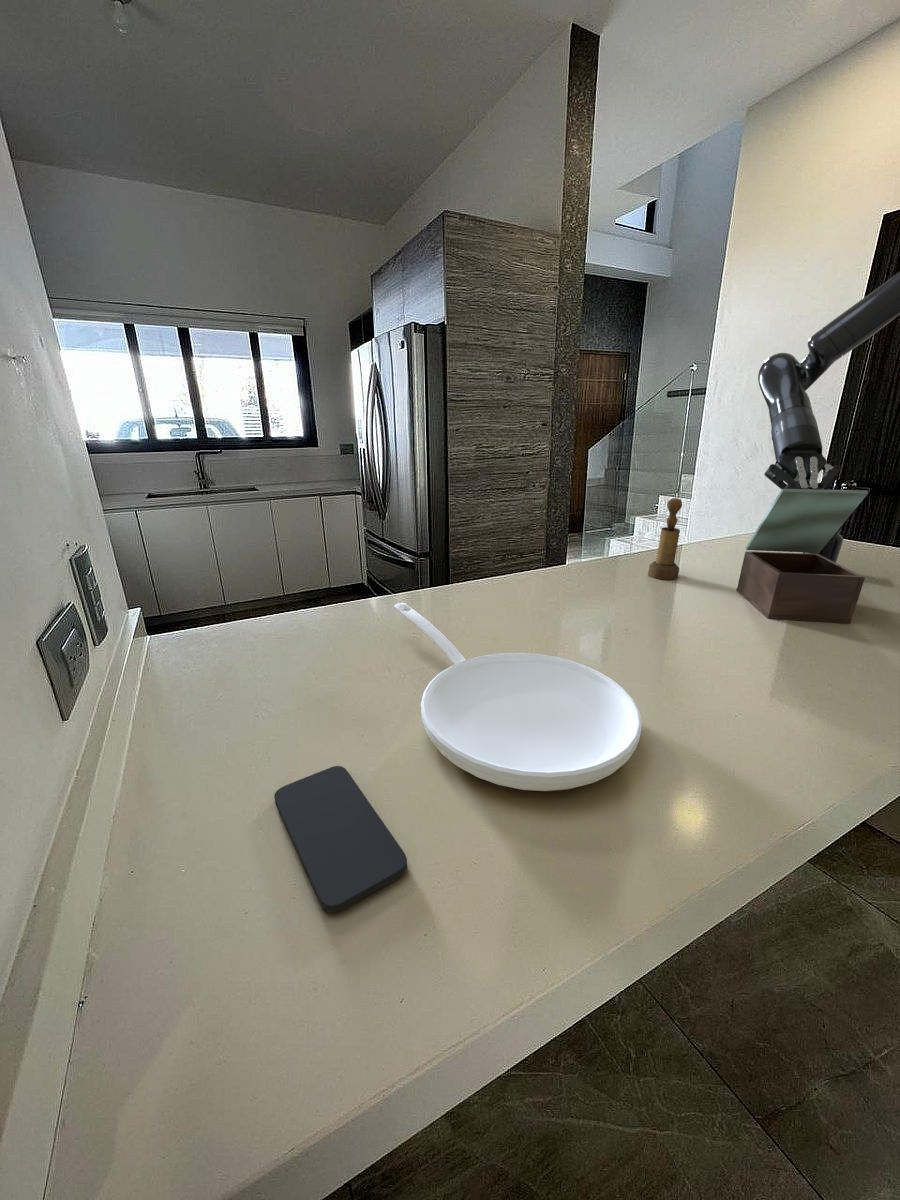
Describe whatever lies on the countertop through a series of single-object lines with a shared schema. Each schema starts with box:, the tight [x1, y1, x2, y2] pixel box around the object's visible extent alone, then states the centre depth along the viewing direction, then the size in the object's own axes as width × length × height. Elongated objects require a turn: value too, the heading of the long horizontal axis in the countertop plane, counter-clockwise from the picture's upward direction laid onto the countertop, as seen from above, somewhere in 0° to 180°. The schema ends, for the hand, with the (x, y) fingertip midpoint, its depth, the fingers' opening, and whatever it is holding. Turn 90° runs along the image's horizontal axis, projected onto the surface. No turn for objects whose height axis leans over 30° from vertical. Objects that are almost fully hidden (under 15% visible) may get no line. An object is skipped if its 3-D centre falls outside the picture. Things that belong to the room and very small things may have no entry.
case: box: [736, 550, 866, 624], centre depth 93 cm, size 16×14×9 cm
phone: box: [273, 765, 408, 913], centre depth 43 cm, size 7×1×15 cm
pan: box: [392, 602, 643, 792], centre depth 63 cm, size 25×44×6 cm, turn 34°
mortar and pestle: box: [647, 497, 683, 581], centre depth 109 cm, size 7×6×18 cm
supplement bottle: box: [802, 525, 844, 563], centre depth 113 cm, size 7×7×12 cm
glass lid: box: [745, 489, 869, 553], centre depth 92 cm, size 16×14×1 cm
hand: (809, 508), depth 89 cm, fingers closed
